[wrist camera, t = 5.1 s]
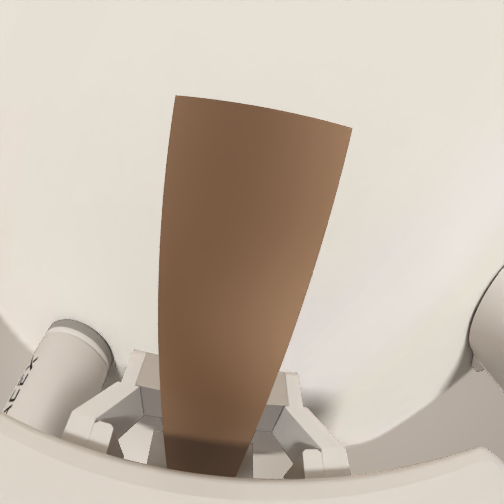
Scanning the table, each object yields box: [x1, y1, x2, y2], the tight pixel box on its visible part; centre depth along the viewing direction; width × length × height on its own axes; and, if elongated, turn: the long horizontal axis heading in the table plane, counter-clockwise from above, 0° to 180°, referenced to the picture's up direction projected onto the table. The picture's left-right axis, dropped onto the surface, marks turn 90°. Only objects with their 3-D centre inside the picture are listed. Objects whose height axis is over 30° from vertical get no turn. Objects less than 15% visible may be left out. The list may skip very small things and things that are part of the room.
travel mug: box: [2, 319, 112, 439], centre depth 14 cm, size 6×7×20 cm
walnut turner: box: [147, 96, 352, 478], centre depth 10 cm, size 6×19×5 cm, turn 170°
